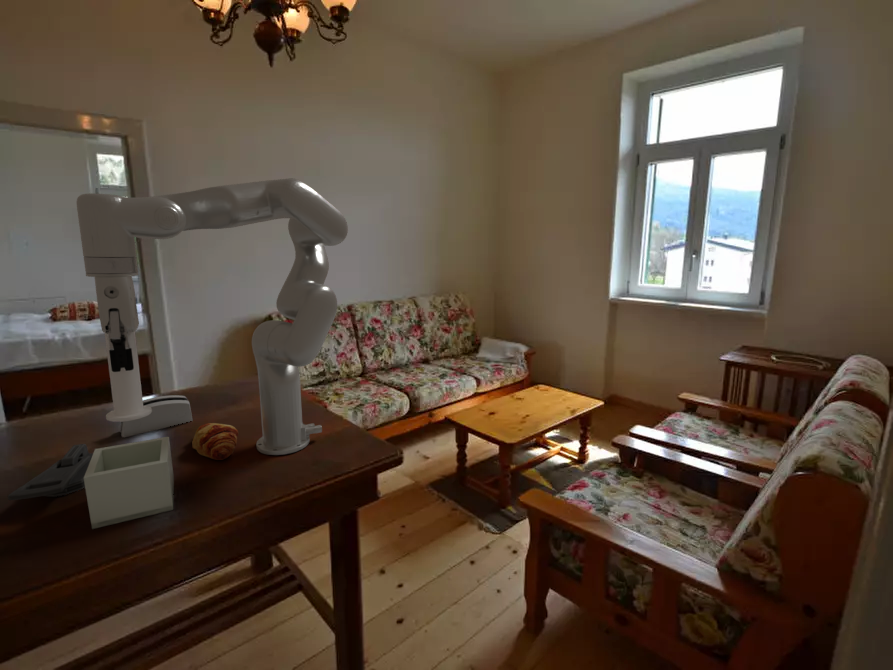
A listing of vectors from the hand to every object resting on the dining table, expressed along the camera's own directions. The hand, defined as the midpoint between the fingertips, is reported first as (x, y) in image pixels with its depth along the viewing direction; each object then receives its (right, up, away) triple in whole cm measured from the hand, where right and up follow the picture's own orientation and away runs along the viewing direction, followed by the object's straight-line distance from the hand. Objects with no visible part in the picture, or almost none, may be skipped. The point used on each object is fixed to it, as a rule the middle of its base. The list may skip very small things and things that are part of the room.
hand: (124, 366), depth 84 cm
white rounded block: (-19, -20, +40) cm, 48 cm away
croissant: (+2, -22, +29) cm, 37 cm away
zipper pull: (-19, -26, +9) cm, 33 cm away
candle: (0, -9, +1) cm, 10 cm away
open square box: (-1, -27, +6) cm, 28 cm away
